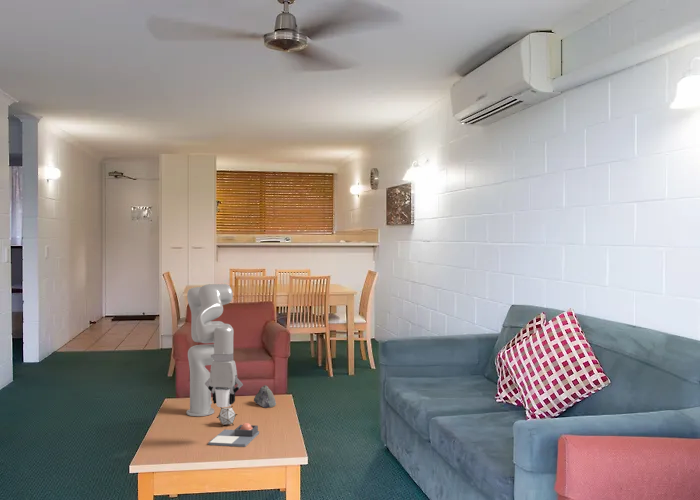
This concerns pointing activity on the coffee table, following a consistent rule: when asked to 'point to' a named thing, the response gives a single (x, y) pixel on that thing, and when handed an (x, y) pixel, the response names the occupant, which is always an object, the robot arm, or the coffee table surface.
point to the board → (235, 437)
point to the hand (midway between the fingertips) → (223, 402)
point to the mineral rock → (265, 397)
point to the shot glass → (222, 397)
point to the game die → (226, 416)
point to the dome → (246, 427)
